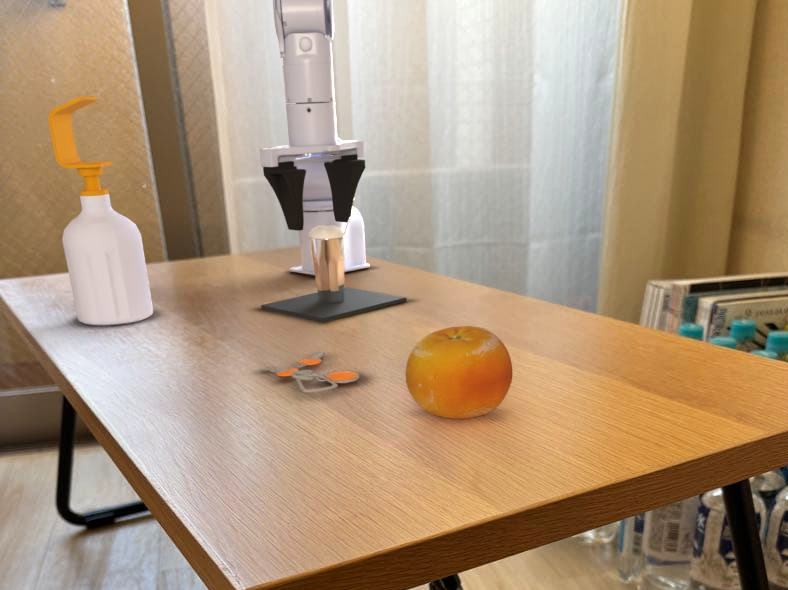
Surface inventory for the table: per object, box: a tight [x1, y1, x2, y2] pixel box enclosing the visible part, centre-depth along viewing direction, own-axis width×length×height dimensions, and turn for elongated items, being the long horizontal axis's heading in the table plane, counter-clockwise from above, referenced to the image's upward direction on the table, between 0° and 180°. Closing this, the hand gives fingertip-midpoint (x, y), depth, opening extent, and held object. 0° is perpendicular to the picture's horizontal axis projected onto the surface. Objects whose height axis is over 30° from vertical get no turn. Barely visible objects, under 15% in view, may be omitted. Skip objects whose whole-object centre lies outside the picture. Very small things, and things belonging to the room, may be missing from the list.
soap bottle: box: [48, 95, 154, 327], centre depth 105 cm, size 9×9×25 cm
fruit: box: [405, 325, 513, 420], centre depth 73 cm, size 8×8×8 cm
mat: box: [260, 286, 408, 323], centre depth 113 cm, size 14×12×1 cm
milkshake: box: [308, 218, 350, 304], centre depth 110 cm, size 4×5×10 cm
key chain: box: [265, 351, 360, 394], centre depth 85 cm, size 13×7×1 cm, turn 24°
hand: (319, 225), depth 110 cm, fingers open, 7 cm apart
